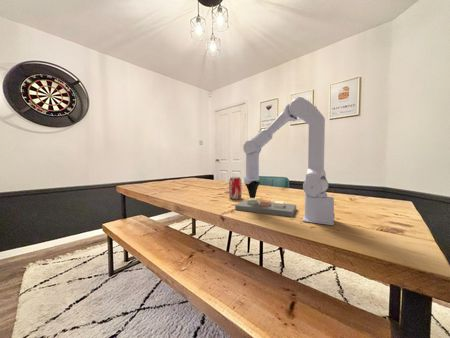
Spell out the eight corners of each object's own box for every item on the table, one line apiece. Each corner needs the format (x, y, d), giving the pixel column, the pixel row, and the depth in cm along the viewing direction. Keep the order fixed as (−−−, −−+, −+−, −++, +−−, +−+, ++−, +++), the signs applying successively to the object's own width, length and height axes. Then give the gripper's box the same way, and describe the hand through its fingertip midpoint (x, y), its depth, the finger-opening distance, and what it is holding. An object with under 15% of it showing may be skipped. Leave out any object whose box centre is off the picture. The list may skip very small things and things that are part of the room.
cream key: (284, 206, 79) (284, 201, 79) (282, 208, 76) (283, 203, 76) (276, 205, 81) (276, 201, 80) (274, 207, 77) (274, 202, 77)
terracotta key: (270, 205, 82) (270, 200, 82) (268, 207, 78) (268, 202, 78) (262, 204, 83) (262, 199, 83) (260, 206, 80) (260, 201, 80)
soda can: (239, 199, 101) (239, 178, 100) (227, 199, 103) (227, 177, 103) (242, 197, 108) (242, 176, 107) (231, 196, 110) (231, 176, 109)
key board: (296, 209, 81) (296, 204, 81) (292, 217, 70) (292, 211, 70) (245, 203, 92) (245, 199, 92) (235, 209, 81) (235, 205, 81)
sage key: (257, 204, 84) (257, 199, 84) (255, 205, 81) (255, 200, 81) (250, 203, 86) (250, 198, 86) (247, 204, 83) (247, 200, 83)
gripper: (249, 167, 91) (249, 194, 92) (237, 168, 78) (238, 200, 79) (263, 167, 88) (263, 195, 89) (253, 169, 75) (253, 201, 76)
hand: (252, 197), depth 84 cm, fingers closed
